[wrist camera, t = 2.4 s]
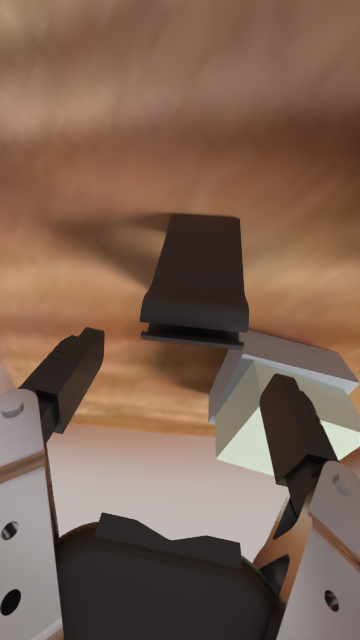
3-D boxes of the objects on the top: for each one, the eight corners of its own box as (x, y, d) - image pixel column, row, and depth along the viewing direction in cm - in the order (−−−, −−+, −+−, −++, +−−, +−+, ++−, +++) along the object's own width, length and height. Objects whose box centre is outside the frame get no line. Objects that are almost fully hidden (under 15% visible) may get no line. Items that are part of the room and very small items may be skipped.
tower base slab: (336, 350, 27) (359, 383, 23) (288, 411, 33) (299, 445, 29) (238, 325, 27) (243, 353, 22) (208, 391, 33) (208, 422, 29)
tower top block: (344, 389, 23) (373, 436, 19) (289, 439, 29) (303, 484, 24) (253, 360, 23) (263, 401, 18) (215, 416, 28) (215, 459, 24)
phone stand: (173, 213, 21) (135, 248, 11) (239, 218, 20) (267, 259, 10) (170, 301, 26) (142, 382, 15) (224, 306, 25) (232, 394, 15)
